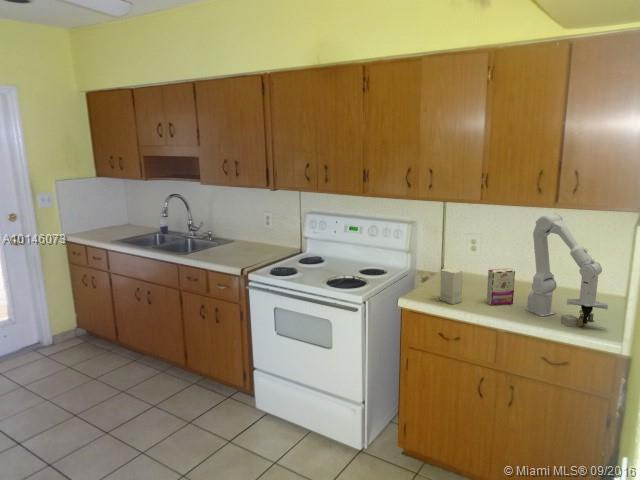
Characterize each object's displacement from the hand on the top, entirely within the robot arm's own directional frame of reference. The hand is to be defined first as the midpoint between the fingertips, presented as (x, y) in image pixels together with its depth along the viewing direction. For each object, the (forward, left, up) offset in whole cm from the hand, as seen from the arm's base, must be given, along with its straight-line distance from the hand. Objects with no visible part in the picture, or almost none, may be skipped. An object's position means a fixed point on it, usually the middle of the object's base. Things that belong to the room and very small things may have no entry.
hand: (584, 323), depth 191 cm
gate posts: (-4, +6, -1) cm, 7 cm away
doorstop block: (-4, -4, -2) cm, 6 cm away
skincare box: (-48, -30, -2) cm, 56 cm away
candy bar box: (-36, -11, -2) cm, 37 cm away
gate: (-3, +2, -1) cm, 4 cm away
